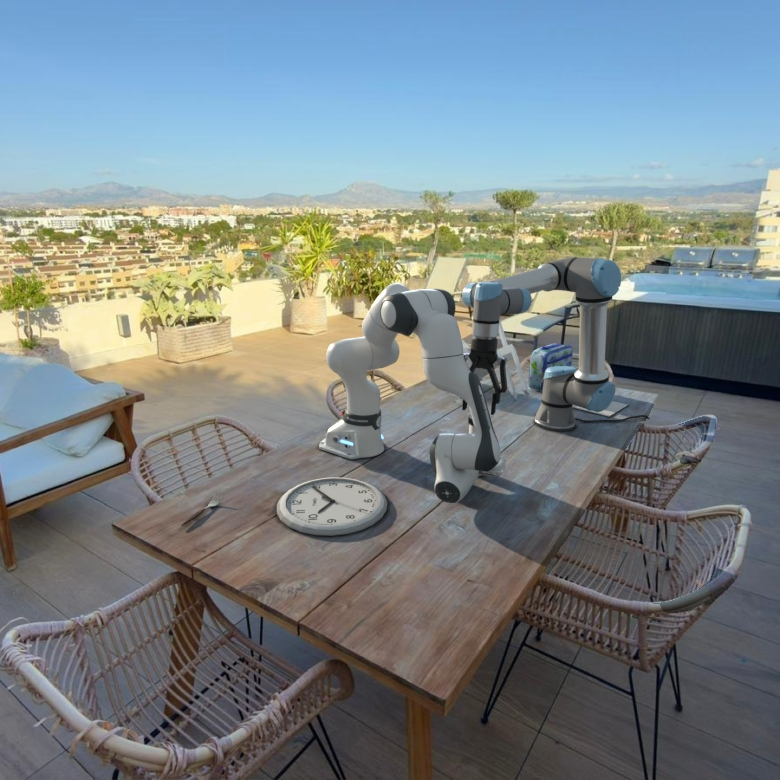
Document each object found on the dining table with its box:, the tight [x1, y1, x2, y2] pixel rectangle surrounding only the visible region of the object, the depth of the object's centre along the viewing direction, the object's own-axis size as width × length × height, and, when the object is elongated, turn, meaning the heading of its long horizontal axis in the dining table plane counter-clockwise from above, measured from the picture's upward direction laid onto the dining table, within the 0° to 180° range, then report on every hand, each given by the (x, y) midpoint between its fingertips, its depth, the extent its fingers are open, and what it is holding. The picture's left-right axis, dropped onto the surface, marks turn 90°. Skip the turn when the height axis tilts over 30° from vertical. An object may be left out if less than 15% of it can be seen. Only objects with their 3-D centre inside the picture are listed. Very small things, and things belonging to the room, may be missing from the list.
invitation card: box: [573, 400, 629, 418], centre depth 226 cm, size 21×1×15 cm
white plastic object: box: [461, 319, 531, 400], centre depth 245 cm, size 37×45×31 cm
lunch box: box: [528, 343, 574, 392], centre depth 249 cm, size 26×11×21 cm, turn 134°
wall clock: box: [276, 476, 388, 537], centre depth 142 cm, size 30×2×30 cm
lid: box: [467, 413, 474, 426], centre depth 159 cm, size 6×6×2 cm
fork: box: [180, 491, 225, 527], centre depth 138 cm, size 3×16×2 cm, turn 160°
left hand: (477, 451), depth 163 cm, fingers closed on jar, 5 cm apart
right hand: (478, 411), depth 157 cm, fingers open, 8 cm apart
